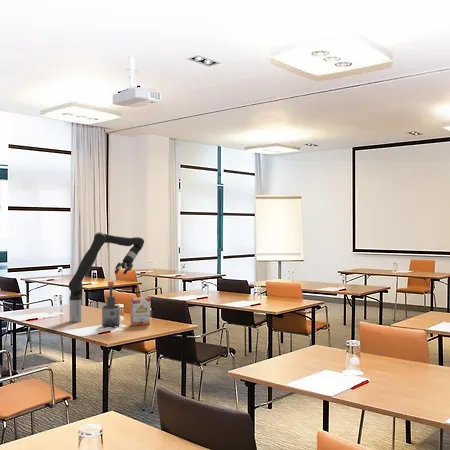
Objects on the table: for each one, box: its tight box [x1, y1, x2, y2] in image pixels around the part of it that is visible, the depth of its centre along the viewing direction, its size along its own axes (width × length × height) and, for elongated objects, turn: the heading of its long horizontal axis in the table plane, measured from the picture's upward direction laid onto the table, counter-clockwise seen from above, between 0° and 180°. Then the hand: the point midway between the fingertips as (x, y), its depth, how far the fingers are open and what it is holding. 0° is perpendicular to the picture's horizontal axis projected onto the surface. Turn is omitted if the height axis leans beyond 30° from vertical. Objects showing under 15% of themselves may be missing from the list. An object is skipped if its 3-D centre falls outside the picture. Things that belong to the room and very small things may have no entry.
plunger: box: [107, 281, 115, 297], centre depth 402 cm, size 4×4×12 cm
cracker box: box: [130, 296, 151, 327], centre depth 406 cm, size 14×6×21 cm, turn 117°
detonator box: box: [101, 295, 121, 328], centre depth 400 cm, size 18×13×22 cm
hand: (119, 273), depth 411 cm, fingers open, 8 cm apart
